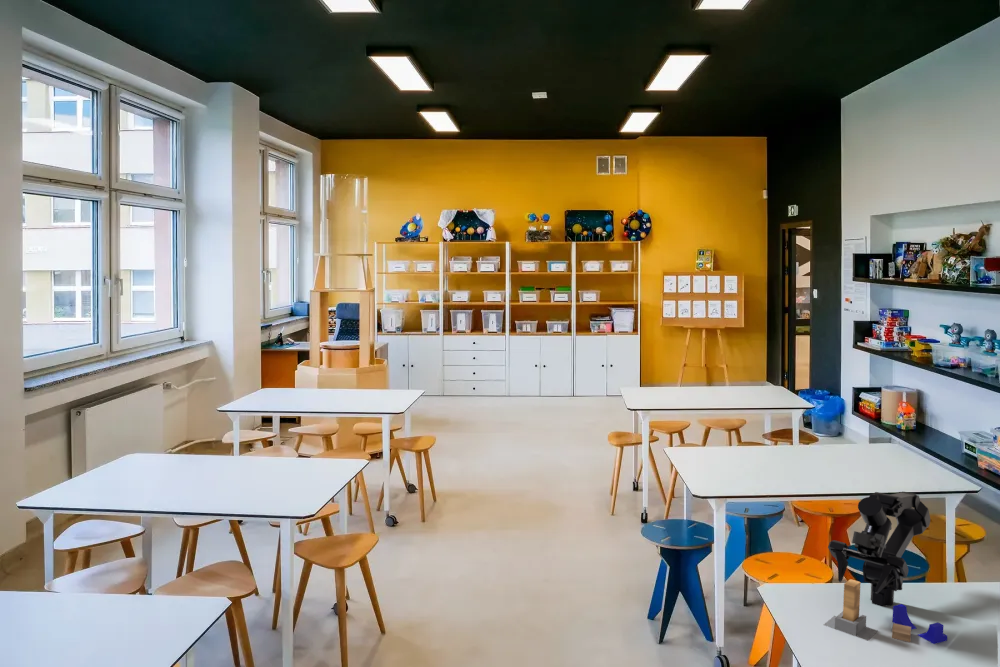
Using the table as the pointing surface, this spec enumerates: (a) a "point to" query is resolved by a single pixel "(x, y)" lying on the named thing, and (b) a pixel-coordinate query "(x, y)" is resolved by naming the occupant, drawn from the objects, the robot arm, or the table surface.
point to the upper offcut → (901, 632)
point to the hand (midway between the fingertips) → (857, 586)
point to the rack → (852, 626)
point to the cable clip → (931, 635)
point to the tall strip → (851, 600)
